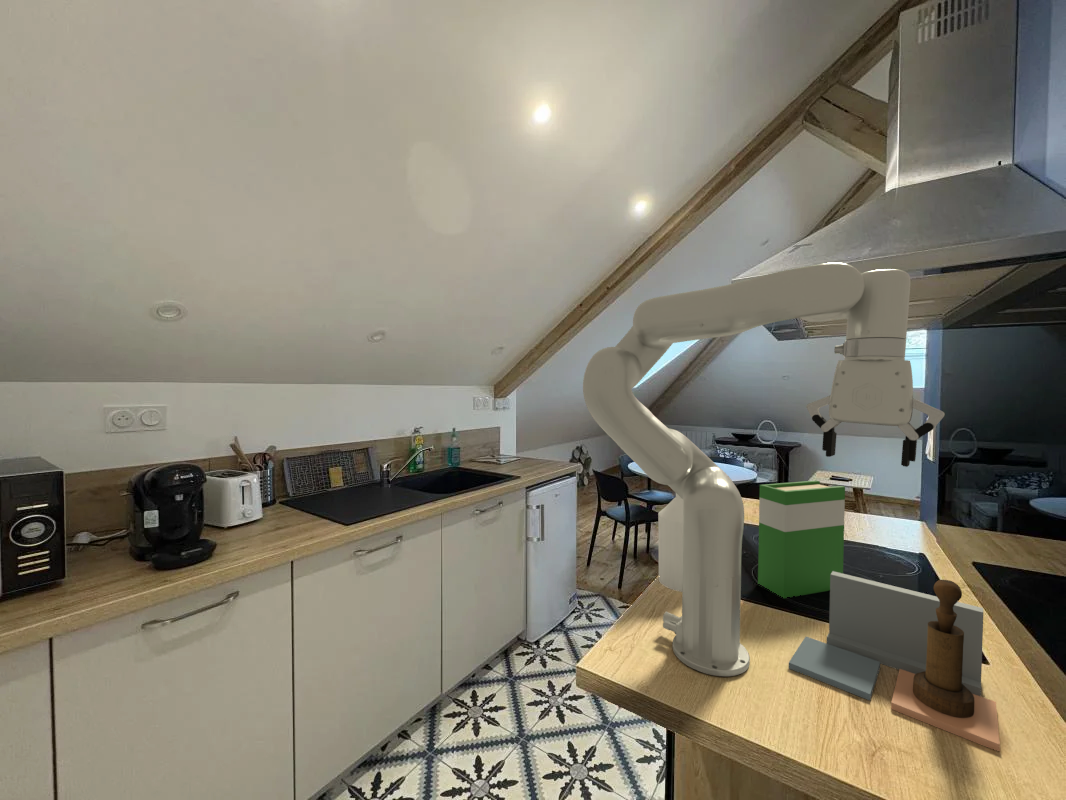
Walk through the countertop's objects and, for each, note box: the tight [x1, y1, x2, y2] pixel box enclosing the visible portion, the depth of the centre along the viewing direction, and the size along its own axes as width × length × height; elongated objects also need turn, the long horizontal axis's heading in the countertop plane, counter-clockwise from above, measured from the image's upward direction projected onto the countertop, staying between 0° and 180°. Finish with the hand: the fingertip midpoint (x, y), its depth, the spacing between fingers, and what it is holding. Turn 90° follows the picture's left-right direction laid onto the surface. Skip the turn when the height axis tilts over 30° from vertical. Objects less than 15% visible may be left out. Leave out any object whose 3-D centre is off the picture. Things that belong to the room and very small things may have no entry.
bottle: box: [657, 492, 683, 593], centre depth 108 cm, size 12×12×25 cm
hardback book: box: [757, 479, 846, 599], centre depth 106 cm, size 18×7×24 cm, turn 107°
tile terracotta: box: [890, 669, 1001, 752], centre depth 66 cm, size 11×11×1 cm
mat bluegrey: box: [788, 636, 881, 701], centre depth 75 cm, size 11×11×1 cm
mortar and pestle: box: [913, 579, 974, 718], centre depth 65 cm, size 7×6×18 cm
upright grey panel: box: [826, 571, 984, 697], centre depth 77 cm, size 20×6×12 cm, turn 46°
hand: (866, 460), depth 71 cm, fingers open, 9 cm apart
